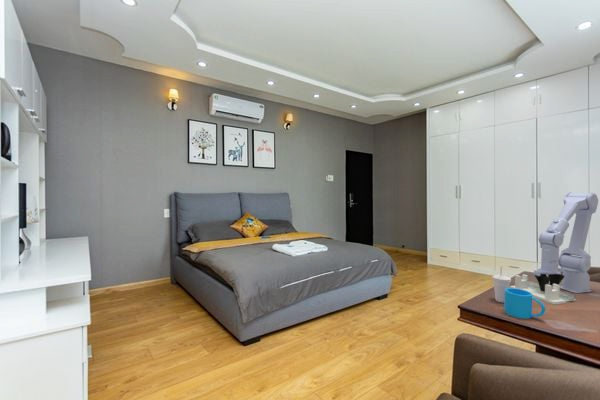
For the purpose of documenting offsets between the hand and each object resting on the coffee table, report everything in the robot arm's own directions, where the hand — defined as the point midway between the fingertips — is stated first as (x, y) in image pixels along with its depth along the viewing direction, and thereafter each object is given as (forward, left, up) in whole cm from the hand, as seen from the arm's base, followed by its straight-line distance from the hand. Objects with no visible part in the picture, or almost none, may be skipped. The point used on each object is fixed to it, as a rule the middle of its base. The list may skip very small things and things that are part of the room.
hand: (548, 290), depth 128 cm
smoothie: (+27, +2, -2) cm, 27 cm away
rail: (0, 0, -1) cm, 1 cm away
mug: (+31, +14, -2) cm, 34 cm away
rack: (+7, 0, -1) cm, 7 cm away
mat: (0, 0, -1) cm, 1 cm away
